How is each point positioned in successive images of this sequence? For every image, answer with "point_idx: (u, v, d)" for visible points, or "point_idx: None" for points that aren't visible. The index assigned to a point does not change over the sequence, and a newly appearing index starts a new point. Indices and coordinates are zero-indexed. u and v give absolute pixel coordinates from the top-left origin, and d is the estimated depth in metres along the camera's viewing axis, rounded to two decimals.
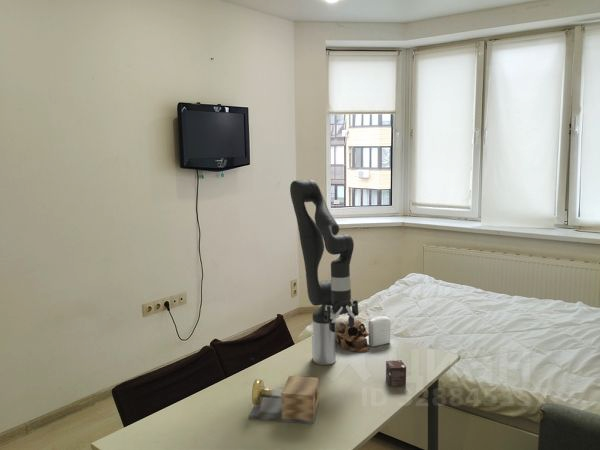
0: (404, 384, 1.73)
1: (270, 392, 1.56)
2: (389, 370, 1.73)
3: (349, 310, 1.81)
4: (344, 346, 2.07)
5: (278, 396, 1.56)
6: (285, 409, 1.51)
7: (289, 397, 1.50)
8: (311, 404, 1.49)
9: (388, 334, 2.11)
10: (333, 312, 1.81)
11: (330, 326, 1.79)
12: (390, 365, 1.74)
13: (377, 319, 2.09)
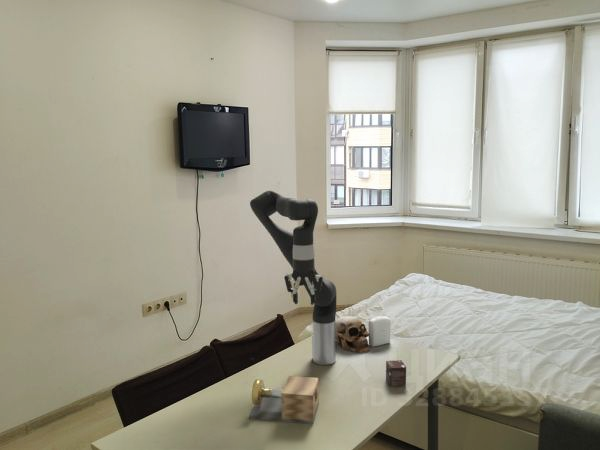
0: (404, 384, 1.73)
1: (270, 392, 1.56)
2: (389, 370, 1.73)
3: None
4: (345, 346, 2.07)
5: (278, 396, 1.56)
6: (285, 409, 1.51)
7: (289, 397, 1.50)
8: (311, 404, 1.49)
9: (388, 334, 2.11)
10: (309, 285, 1.67)
11: (315, 298, 1.68)
12: (390, 365, 1.74)
13: (377, 319, 2.09)
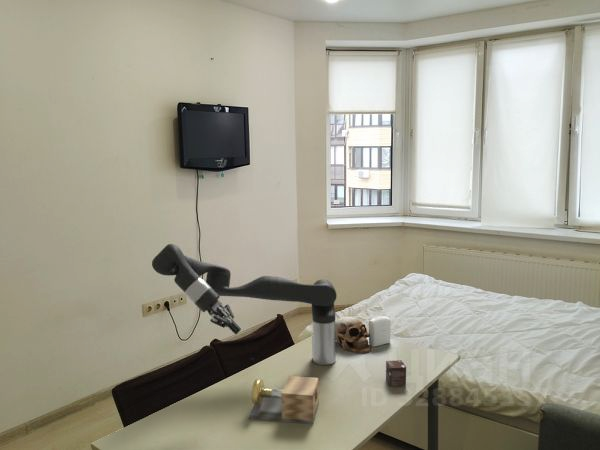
0: (404, 384, 1.73)
1: (270, 392, 1.56)
2: (389, 370, 1.73)
3: (226, 310, 1.60)
4: (345, 347, 2.06)
5: (278, 396, 1.56)
6: (285, 409, 1.51)
7: (289, 397, 1.50)
8: (311, 404, 1.49)
9: (388, 334, 2.11)
10: None
11: (232, 328, 1.57)
12: (390, 365, 1.74)
13: (377, 319, 2.09)
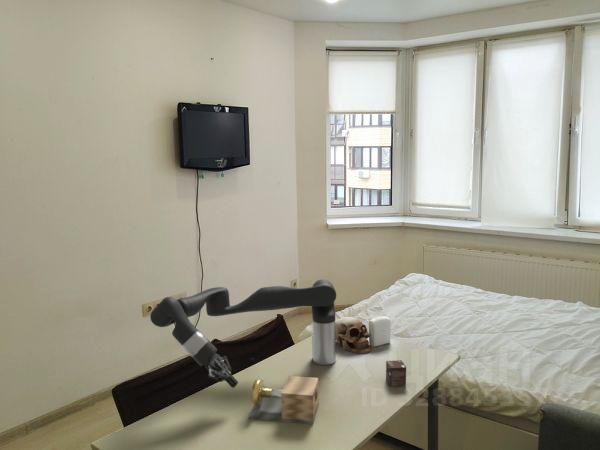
0: (404, 384, 1.73)
1: (270, 392, 1.56)
2: (389, 370, 1.73)
3: (223, 363, 1.60)
4: (345, 347, 2.06)
5: (278, 396, 1.56)
6: (285, 409, 1.51)
7: (289, 397, 1.50)
8: (311, 404, 1.49)
9: (388, 334, 2.12)
10: None
11: (230, 382, 1.58)
12: (390, 365, 1.74)
13: (378, 319, 2.09)
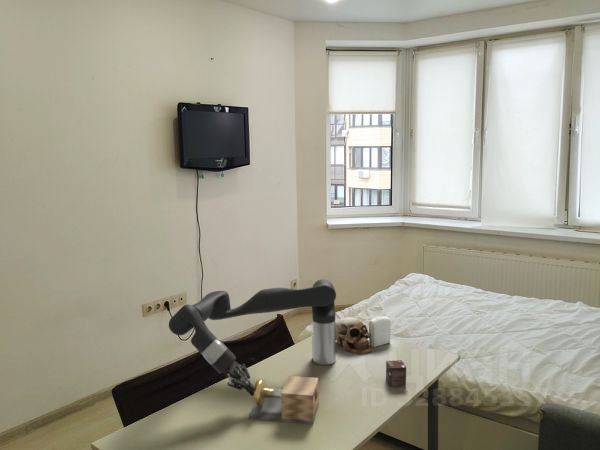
0: (404, 384, 1.73)
1: (272, 392, 1.56)
2: (389, 370, 1.73)
3: (242, 371, 1.59)
4: (346, 348, 2.05)
5: (280, 396, 1.56)
6: (285, 409, 1.51)
7: (289, 397, 1.50)
8: (311, 404, 1.49)
9: (388, 334, 2.12)
10: None
11: (249, 390, 1.57)
12: (390, 365, 1.74)
13: (378, 319, 2.09)
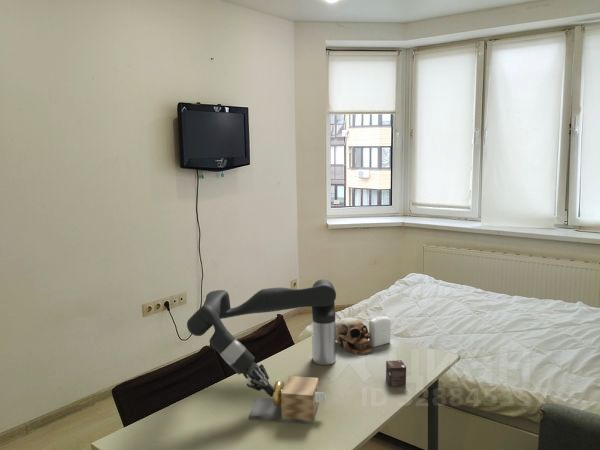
0: (404, 384, 1.73)
1: None
2: (389, 370, 1.73)
3: (261, 372, 1.58)
4: (346, 348, 2.05)
5: None
6: (285, 409, 1.51)
7: (289, 397, 1.50)
8: (311, 404, 1.49)
9: (388, 334, 2.12)
10: None
11: (268, 391, 1.56)
12: (390, 365, 1.74)
13: (378, 319, 2.09)
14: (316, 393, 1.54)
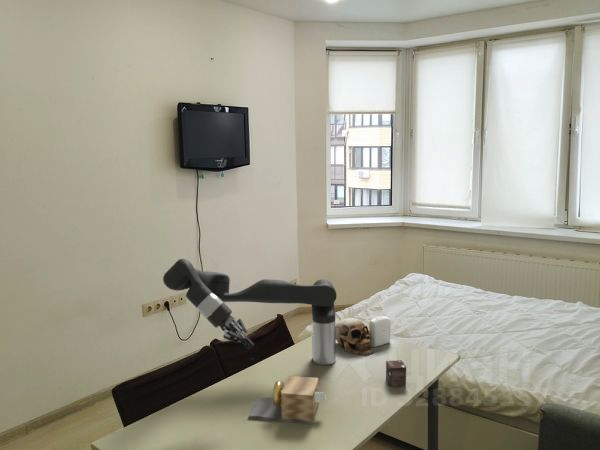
0: (404, 384, 1.73)
1: None
2: (389, 370, 1.73)
3: (238, 325, 1.58)
4: (347, 349, 2.04)
5: None
6: (285, 409, 1.51)
7: (289, 397, 1.50)
8: (311, 404, 1.49)
9: (388, 334, 2.12)
10: None
11: (246, 343, 1.55)
12: (390, 365, 1.74)
13: (378, 319, 2.09)
14: (316, 393, 1.54)
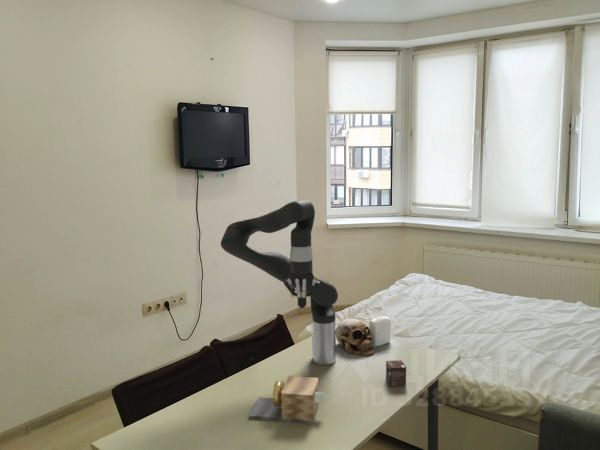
0: (404, 384, 1.73)
1: None
2: (389, 370, 1.73)
3: None
4: (348, 350, 2.03)
5: None
6: (285, 409, 1.51)
7: (289, 397, 1.50)
8: (311, 404, 1.49)
9: (388, 334, 2.12)
10: None
11: (306, 301, 1.66)
12: (390, 365, 1.74)
13: (378, 319, 2.09)
14: (316, 393, 1.54)
